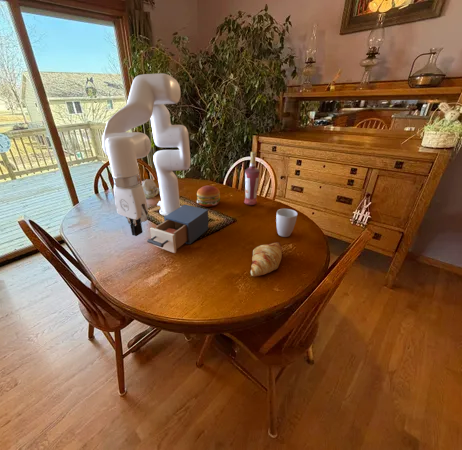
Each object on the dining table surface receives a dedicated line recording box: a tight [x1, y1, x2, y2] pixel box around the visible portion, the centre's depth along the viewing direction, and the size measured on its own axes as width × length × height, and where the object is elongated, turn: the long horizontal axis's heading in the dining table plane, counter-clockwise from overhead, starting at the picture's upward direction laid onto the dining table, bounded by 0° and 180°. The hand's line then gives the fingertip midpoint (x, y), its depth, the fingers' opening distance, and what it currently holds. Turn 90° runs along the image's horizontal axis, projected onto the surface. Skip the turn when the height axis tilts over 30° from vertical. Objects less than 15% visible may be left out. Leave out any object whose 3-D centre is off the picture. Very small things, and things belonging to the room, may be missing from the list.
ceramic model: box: [141, 178, 160, 199], centre depth 147 cm, size 14×11×10 cm
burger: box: [196, 185, 221, 208], centre depth 131 cm, size 13×14×10 cm
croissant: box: [250, 241, 283, 277], centre depth 83 cm, size 21×10×8 cm, turn 143°
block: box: [165, 228, 176, 234], centre depth 95 cm, size 4×4×4 cm
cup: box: [275, 208, 298, 238], centre depth 99 cm, size 8×8×10 cm
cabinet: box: [163, 204, 210, 245], centre depth 103 cm, size 15×13×10 cm
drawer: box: [146, 219, 188, 254], centre depth 94 cm, size 18×11×8 cm, turn 147°
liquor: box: [243, 151, 260, 207], centre depth 123 cm, size 7×7×28 cm
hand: (137, 233), depth 79 cm, fingers closed
